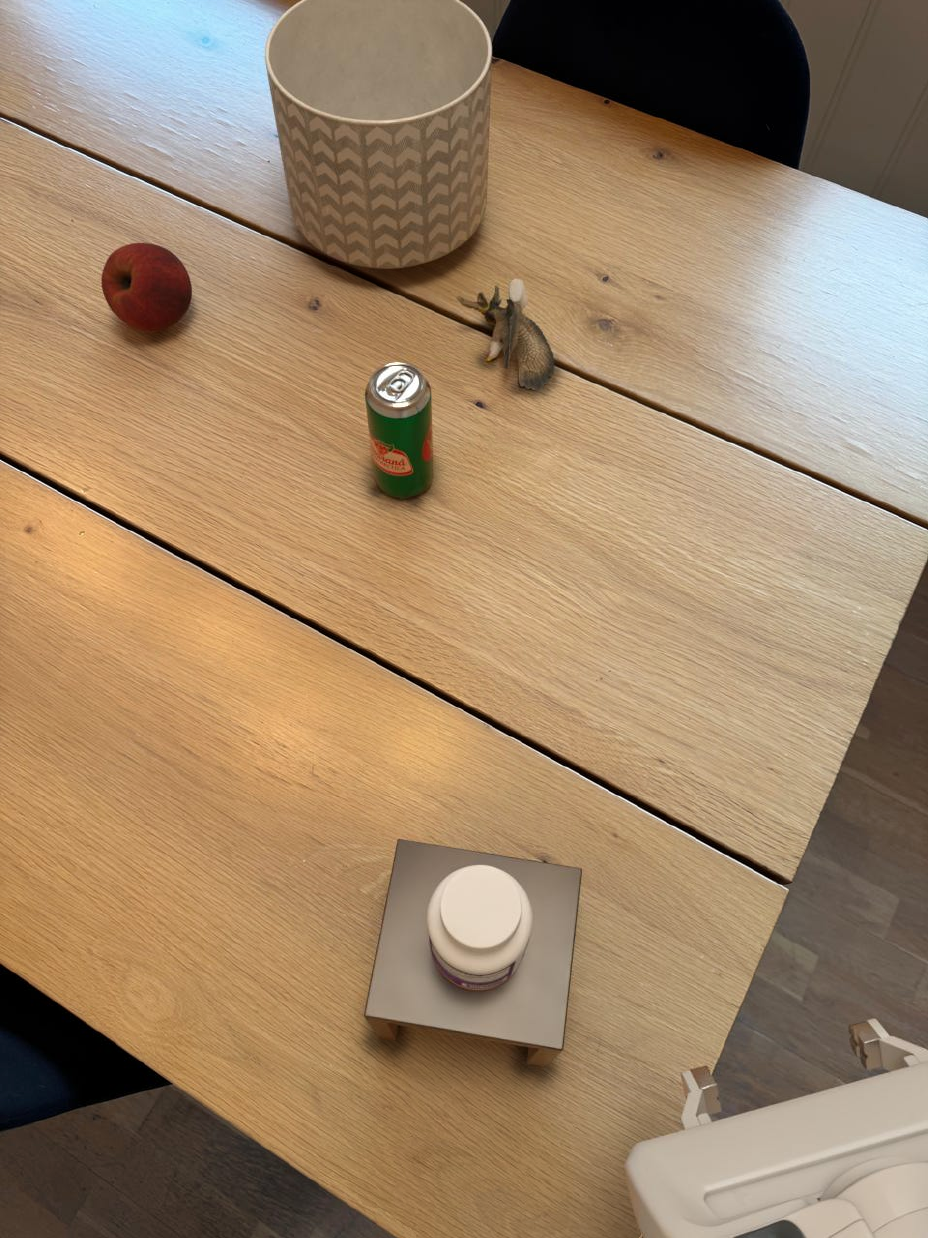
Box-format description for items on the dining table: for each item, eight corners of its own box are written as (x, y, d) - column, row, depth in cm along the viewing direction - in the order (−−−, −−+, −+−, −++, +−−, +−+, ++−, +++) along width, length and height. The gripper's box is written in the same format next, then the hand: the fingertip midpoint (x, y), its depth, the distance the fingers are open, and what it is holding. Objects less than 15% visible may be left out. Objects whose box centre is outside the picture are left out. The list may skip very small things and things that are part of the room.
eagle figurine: (438, 337, 93) (492, 389, 88) (469, 263, 89) (527, 314, 84) (500, 346, 98) (553, 396, 93) (531, 276, 94) (589, 325, 89)
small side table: (562, 910, 70) (582, 868, 59) (544, 1066, 66) (563, 1051, 55) (406, 885, 71) (397, 838, 60) (377, 1037, 66) (363, 1016, 56)
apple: (100, 314, 95) (72, 247, 88) (171, 275, 97) (149, 207, 90) (144, 361, 92) (118, 296, 85) (215, 319, 95) (196, 253, 88)
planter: (342, 138, 107) (323, -41, 90) (513, 185, 104) (524, 8, 87) (261, 260, 98) (224, 87, 82) (443, 315, 95) (441, 146, 79)
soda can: (362, 481, 87) (349, 388, 76) (399, 443, 88) (392, 347, 78) (408, 511, 85) (402, 421, 75) (445, 472, 87) (444, 379, 76)
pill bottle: (465, 875, 59) (467, 828, 51) (542, 929, 58) (558, 891, 49) (410, 954, 57) (402, 919, 48) (489, 1013, 56) (496, 988, 47)
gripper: (1156, 1151, 41) (955, 955, 54) (672, 1292, 40) (587, 1056, 53) (1160, 1269, 43) (965, 1051, 56) (696, 1409, 42) (608, 1152, 55)
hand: (778, 1055), depth 55 cm, fingers open, 8 cm apart
